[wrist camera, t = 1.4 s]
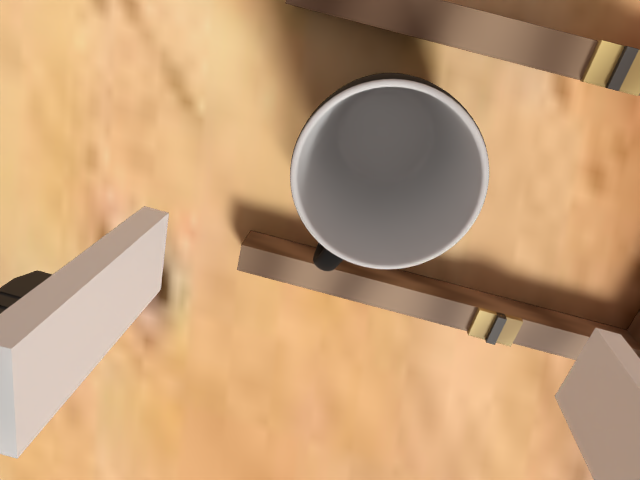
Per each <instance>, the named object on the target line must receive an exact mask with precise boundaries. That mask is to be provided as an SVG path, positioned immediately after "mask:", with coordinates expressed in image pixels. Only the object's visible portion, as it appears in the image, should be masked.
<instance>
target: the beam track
mask: <svg viewBox="0 0 640 480" xmlns="http://www.w3.org/2000/svg"><path fill="white" fill-rule="evenodd" d="M286 4H290V5H294V6H297V7H301V8H305V9H309V10H313V11H317V12H320V13H324V14H328V15H332V16H336V17H340V18H344V19H347V20H351V21H355V22H359V23H363V24H367V25H370V26H374V27H378V28H382V29H386V30H390V31H393V32H397V33H401V34H405V35H409V36H413V37H417V38H420V39H424V40H428V41H432V42H436V43H440V44H443V45H447V46H451V47H455V48H459V49H463V50H466V51H470V52H474V53H478V54H482V55H486V56H490V57H493V58H497V59H501V60H505V61H509V62H513V63H516V64H520V65H524V66H528V67H532V68H536V69H540V70H543V71H547V72H551V73H555V74H559V75H563V76H566V77H570V78H574V79H578V80H581V81H582V82H586V83H589V84H593V85H597V86H601V87H605V88H609V89H613V90H616V91H620V92H624V93H628V94H632V95H636V96H638V95H639V96H640V50H639V49H636V48H632V47H628V46H622V45H619V44H615V43H611V42H607V41H603V40H599V41H596V40H592V39H588V38H585V37H581V36H577V35H573V34H569V33H565V32H561V31H558V30H554V29H550V28H546V27H542V26H538V25H534V24H531V23H527V22H523V21H519V20H515V19H511V18H507V17H504V16H500V15H496V14H492V13H488V12H484V11H481V10H477V9H473V8H469V7H465V6H461V5H457V4H454V3H450V2H446V1H442V0H286ZM315 250H316V248H315V247H311V246H307V245H304V244H300V243H296V242H292V241H288V240H285V239H281V238H277V237H273V236H270V235H266V234H262V233H258V232H255V231H250V232H249V234H248V236H247V237H246V239H245V240H244V242H243V243H242V245H241V251H240V256H239V262H238V267H237V270H239V271H243V272H246V273H250V274H254V275H258V276H262V277H265V278H269V279H273V280H277V281H280V282H284V283H288V284H292V285H295V286H299V287H303V288H307V289H310V290H314V291H318V292H322V293H325V294H329V295H333V296H337V297H341V298H344V299H348V300H352V301H356V302H359V303H363V304H367V305H371V306H374V307H378V308H382V309H386V310H389V311H393V312H397V313H401V314H404V315H408V316H412V317H416V318H419V319H423V320H427V321H431V322H435V323H438V324H442V325H446V326H450V327H453V328H457V329H461V330H465V331H467V333H468V335H469V336H473V337H477V338H480V339H484V340H486V343H490V344H494V345H495V343H499V344H503V345H507V346H511V345H512V343H514V344H517V345H521V346H525V347H529V348H532V349H536V350H540V351H544V352H547V353H551V354H555V355H559V356H562V357H566V358H570V359H574V360H577V358H578V356H579V355H580V353H581V351H582V350H583V348H584V346H585V345H586V343H587V341H588V340H589V338H590V336H591V335H592V333H593V331H594V330H595V328H599V329H603V330H606V331H610V332H614V333H618V334H621V335H622V337H623V338H624V339H625V340H626V342H627V343H628V344H629V346H630V347H631V348H632V349H633V351H634V352H635V353H636V354H637V356H638V357H639V358H640V310H639V312H638V313H637V315H636V317H635V318H634V320H633V321H632V323H631V325H630V326H629V328H628V329H627V330H624V329H621V328H617V327H613V326H609V325H605V324H602V323H598V322H594V321H590V320H587V319H583V318H579V317H575V316H572V315H568V314H564V313H560V312H556V311H553V310H549V309H545V308H541V307H538V306H534V305H530V304H526V303H522V302H519V301H515V300H511V299H507V298H504V297H500V296H496V295H492V294H488V293H485V292H481V291H477V290H473V289H470V288H466V287H462V286H458V285H455V284H451V283H447V282H443V281H439V280H436V279H432V278H428V277H424V276H421V275H417V274H413V273H409V272H405V271H402V270H398V269H375V268H368V267H363V266H360V265H356V264H353V263H351V262H348V261H346V260H343V261H342V262H341V263H340V264H339V265H338V266H337V267H336V268H335V269H334V270H332V271H323V270H320V269H319V268H317V267H316V265H315V264H314V262H313V257H314V253H315Z"/></svg>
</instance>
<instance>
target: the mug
mask: <svg viewBox="0 0 640 480" xmlns="http://www.w3.org/2000/svg"><path fill="white" fill-rule="evenodd" d="M290 182H291V191H292V197H293V200H294V204H295V207H296V209H297V212H298V214H299V216H300V218H301V220H302V222H303V223H304V225H305V227H306V228H307V230H308V231H309V232H310V233H311V235H312V236H313V237H314V238H315V239H316V240H317V241H318V242H319V243H318V245H317V247H316V250H315V253H314V257H313V262H314V264H315V265H316V267H317V268H319V269H320V270H323V271H332V270H334V269H335V268H336V267H337V266H338V265H339V264H340V263H341V262H342V261H343V260H346V261H348V262H351V263H353V264H356V265H360V266H363V267H368V268H375V269H400V268H407V267H411V266H415V265H419V264H421V263H424V262H427V261H429V260H431V259H434V258H436V257H437V256H439V255H441V254H443V253H444V252H446V251H447V250H448V249H450V248H451V247H452V246H454V245H455V244H456V243H457V242H458V241H459V240H460V239H461V238H462V237H463V236H464V235H465V234H466V233H467V232H468V230H469V229H470V228H471V226H472V225H473V223H474V222H475V220H476V218H477V217H478V215H479V213H480V211H481V208H482V206H483V204H484V200H485V197H486V194H487V189H488V182H489V162H488V154H487V150H486V145H485V143H484V140H483V137H482V135H481V132H480V130H479V128H478V126H477V125H476V123H475V121H474V120H473V118H472V117H471V116H470V114H469V113H468V112H467V110H466V109H465V108H464V107H463V106H462V105H461V104H460V103H459V102H458V101H457V100H456V99H455V98H454V97H452V96H451V95H450V94H449V93H447V92H446V91H444V90H443V89H441V88H440V87H438V86H436V85H434V84H432V83H431V82H429V81H426V80H424V79H421V78H418V77H415V76H411V75H406V74H400V73H381V74H374V75H370V76H366V77H363V78H360V79H357V80H355V81H353V82H351V83H349V84H347V85H345V86H343V87H342V88H340V89H338V90H337V91H336V92H334V93H333V94H332V95H330V96H329V97H328V98H327V99H326V100H325V101H324V102H323V103H321V105H320V106H319V107H318V108H317V109H316V110H315V111H314V112H313V114H312V115H311V116H310V118H309V119H308V121H307V122H306V124H305V126H304V127H303V129H302V131H301V133H300V135H299V137H298V139H297V142H296V145H295V148H294V151H293V155H292V160H291V168H290Z"/></svg>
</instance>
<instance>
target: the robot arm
mask: <svg viewBox="0 0 640 480" xmlns="http://www.w3.org/2000/svg"><path fill="white" fill-rule="evenodd" d="M168 216H169V213H168V212H164V211H160V210H156V209H153V208H149V207H145V206H144V207H142V208H141V209H140V210H138V211H137V212H136V213H134V214H133V215H132V216H130V217H129V218H128V219H126V220H125V221H124V222H122V223H121V224H120V225H118V226H117V227H116V228H114V229H113V230H112V231H110V232H109V233H108V234H106V235H105V236H104V237H102V238H101V239H100V240H98V241H97V242H96V243H94V244H93V245H92V246H90V247H89V248H88V249H86V250H85V251H84V252H82V253H81V254H80V255H78V256H77V257H76V258H74V259H73V260H72V261H70V262H69V263H68V264H66V265H65V266H63V267H62V268H61V269H59V270H58V271H57V272H55V273H54V274H53V275H52V274H48V273H45V272H41V271H34V272H32V273H29V274H26V275H23V276H20V277H17V278H14V279H13V280H11V281H10V282H8V283H7V284H5V285H4V286H2V287H1V288H0V454H3V455H6V456H10V457H14V458H18V457H19V456H20V455H21V454H22V453H23V451H24V450H25V449H26V448H27V447H28V445H29V444H30V443H31V442H32V441H33V440H34V438H35V437H36V436H37V435H38V434H39V432H40V431H41V430H42V429H43V428H44V427H45V425H46V424H47V423H48V422H49V421H50V420H51V418H52V417H53V416H54V415H55V414H56V412H57V411H58V410H59V409H60V408H61V407H62V405H63V404H64V403H65V402H66V401H67V399H68V398H69V397H70V396H71V395H72V394H73V392H74V391H75V390H76V389H77V388H78V387H79V385H80V384H81V383H82V382H83V381H84V379H85V378H86V377H87V376H88V375H89V374H90V372H91V371H92V370H93V369H94V368H95V366H96V365H97V364H98V363H99V362H100V361H101V359H102V358H103V357H104V356H105V355H106V353H107V352H108V351H109V350H110V349H111V348H112V346H113V345H114V344H115V343H116V342H117V341H118V339H119V338H120V337H121V336H122V335H123V333H124V332H125V331H126V330H127V329H128V328H129V326H130V325H131V324H132V323H133V322H134V320H135V319H136V318H137V317H138V316H139V315H140V313H141V312H142V311H143V310H144V309H145V307H146V306H147V305H148V304H149V303H150V302H151V300H152V299H153V298H154V297H155V296H156V295H157V293H158V292H159V291H160V290H161V282H162V272H163V263H164V253H165V244H166V235H167V225H168ZM555 398H556V400H557V402H558V405H559V407H560V409H561V411H562V413H563V415H564V417H565V419H566V422H567V424H568V426H569V428H570V430H571V432H572V434H573V436H574V439H575V441H576V443H577V445H578V447H579V449H580V451H581V453H582V456H583V458H584V460H585V462H586V464H587V466H588V468H589V471H590V473H591V475H592V477H593V479H594V480H640V358H639V357H638V356H637V354H636V353H635V352H634V351H633V349H632V348H631V347H630V346H629V344H628V343H627V342H626V340H625V339H624V338H623V337H622V335H621V334H618V333H614V332H610V331H606V330H603V329H599V328H595V330H594V331H593V333H592V335H591V336H590V338H589V340H588V341H587V343H586V345H585V346H584V348H583V350H582V351H581V353H580V355H579V356H578V358H577V360H576V361H575V363H574V365H573V366H572V368H571V370H570V371H569V373H568V375H567V376H566V378H565V380H564V382H563V383H562V385H561V387H560V388H559V390H558V392H557V393H556V395H555Z"/></svg>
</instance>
